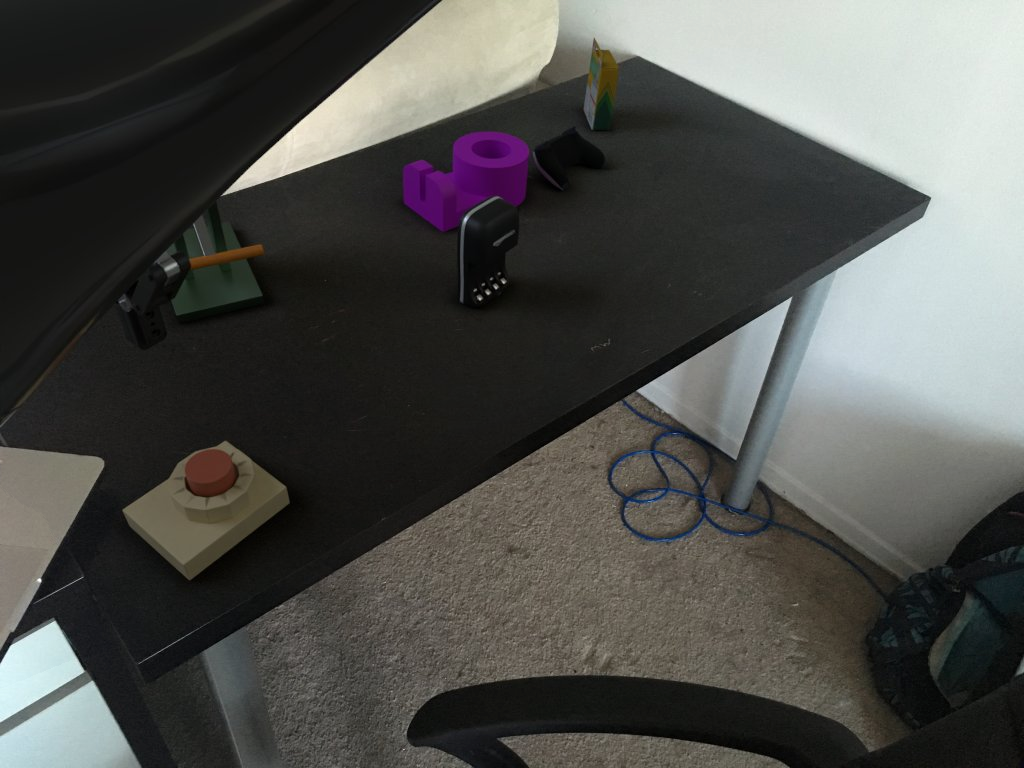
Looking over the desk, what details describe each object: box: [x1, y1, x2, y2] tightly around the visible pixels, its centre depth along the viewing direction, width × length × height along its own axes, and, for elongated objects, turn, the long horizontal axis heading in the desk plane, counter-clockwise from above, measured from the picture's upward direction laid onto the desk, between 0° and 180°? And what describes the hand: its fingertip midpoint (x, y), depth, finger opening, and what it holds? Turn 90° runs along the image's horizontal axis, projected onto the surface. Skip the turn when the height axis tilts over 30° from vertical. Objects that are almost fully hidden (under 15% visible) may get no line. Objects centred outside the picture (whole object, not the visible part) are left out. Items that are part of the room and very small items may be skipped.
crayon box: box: [583, 37, 620, 131], centre depth 121 cm, size 7×3×12 cm, turn 7°
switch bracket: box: [166, 201, 265, 325], centre depth 85 cm, size 16×9×14 cm, turn 27°
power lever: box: [189, 214, 265, 271], centre depth 79 cm, size 13×10×2 cm
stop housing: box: [122, 440, 291, 581], centre depth 64 cm, size 10×8×4 cm
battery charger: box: [456, 196, 520, 309], centre depth 86 cm, size 7×4×11 cm, turn 142°
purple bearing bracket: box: [402, 131, 530, 233], centre depth 103 cm, size 16×10×6 cm, turn 131°
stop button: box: [185, 448, 236, 497], centre depth 63 cm, size 4×4×2 cm
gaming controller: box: [532, 125, 606, 191], centre depth 111 cm, size 11×4×7 cm
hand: (148, 340), depth 56 cm, fingers closed
